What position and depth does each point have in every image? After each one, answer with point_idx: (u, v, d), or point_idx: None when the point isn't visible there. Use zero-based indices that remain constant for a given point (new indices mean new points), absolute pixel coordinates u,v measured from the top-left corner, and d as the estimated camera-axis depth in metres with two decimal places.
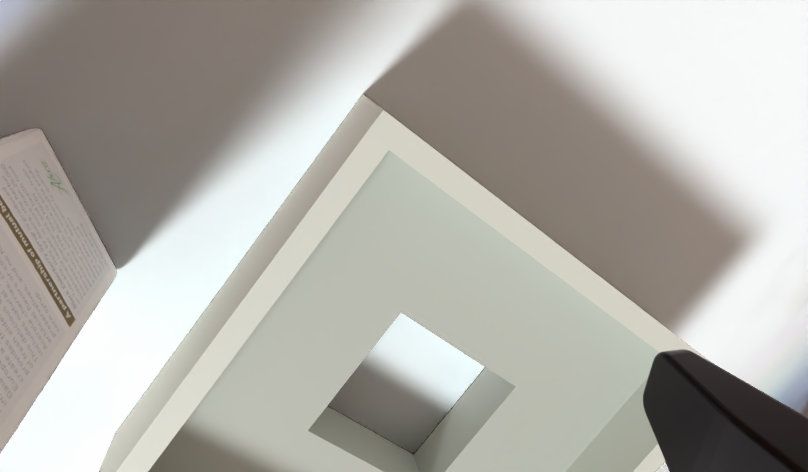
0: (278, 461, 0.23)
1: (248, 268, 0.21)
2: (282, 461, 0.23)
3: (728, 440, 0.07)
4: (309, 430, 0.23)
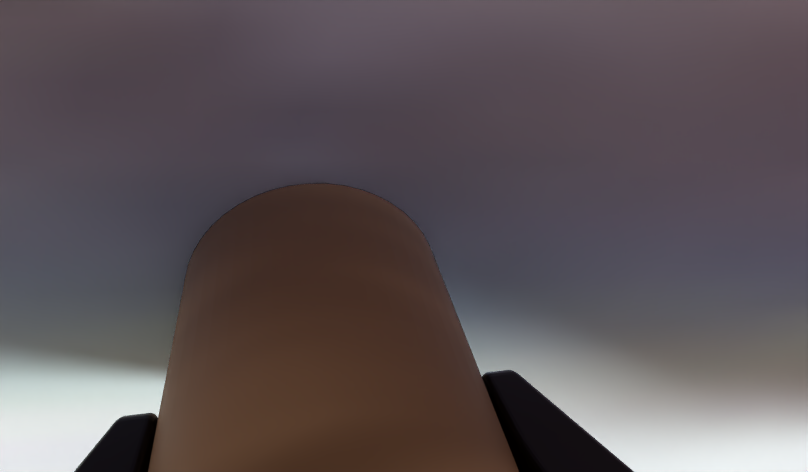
0: None
1: None
2: None
3: (523, 470, 0.07)
4: None
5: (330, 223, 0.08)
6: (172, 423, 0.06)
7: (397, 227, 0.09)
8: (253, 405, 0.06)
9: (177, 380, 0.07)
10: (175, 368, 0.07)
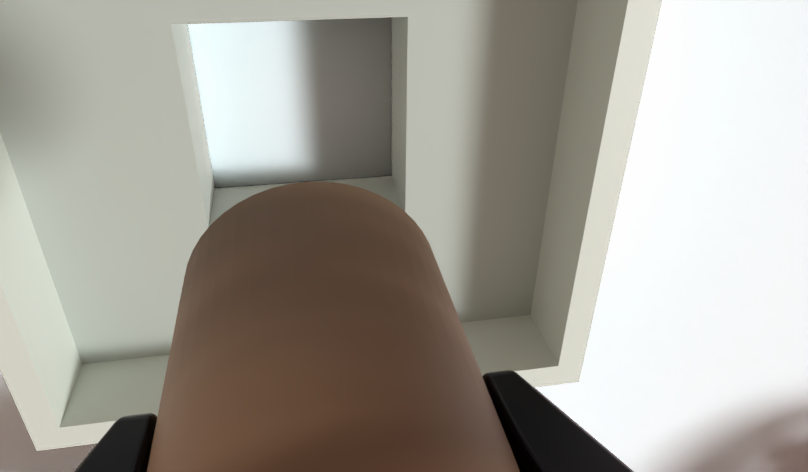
0: (458, 214, 0.19)
1: None
2: (456, 208, 0.19)
3: (524, 470, 0.07)
4: (404, 210, 0.18)
5: (330, 221, 0.08)
6: (171, 421, 0.06)
7: (397, 225, 0.09)
8: (253, 403, 0.06)
9: (176, 378, 0.07)
10: (174, 366, 0.07)
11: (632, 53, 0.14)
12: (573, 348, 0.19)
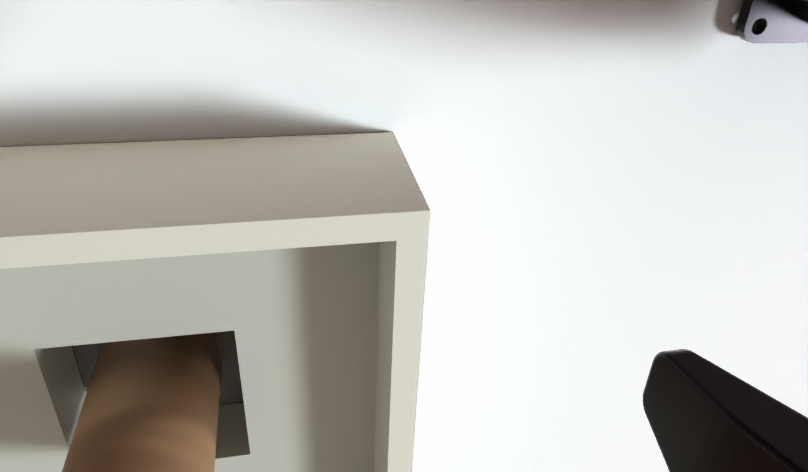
0: (297, 451, 0.22)
1: None
2: (295, 447, 0.22)
3: (728, 440, 0.07)
4: (250, 451, 0.22)
5: None
6: (85, 407, 0.18)
7: None
8: (109, 400, 0.18)
9: (89, 392, 0.19)
10: (89, 387, 0.19)
11: (403, 380, 0.18)
12: None
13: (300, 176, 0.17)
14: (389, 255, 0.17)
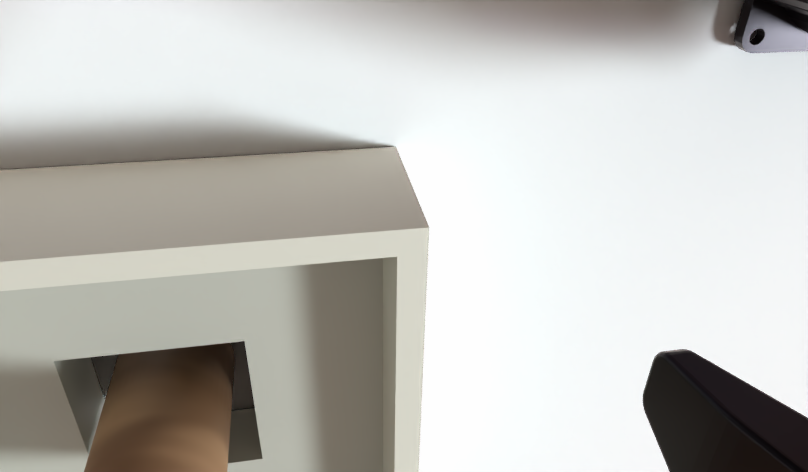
0: (307, 455, 0.23)
1: None
2: (306, 451, 0.23)
3: (728, 440, 0.07)
4: (262, 455, 0.23)
5: None
6: (103, 416, 0.19)
7: None
8: (125, 410, 0.18)
9: (106, 401, 0.20)
10: (107, 396, 0.20)
11: (407, 389, 0.19)
12: None
13: (304, 194, 0.17)
14: (391, 269, 0.17)
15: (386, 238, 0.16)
